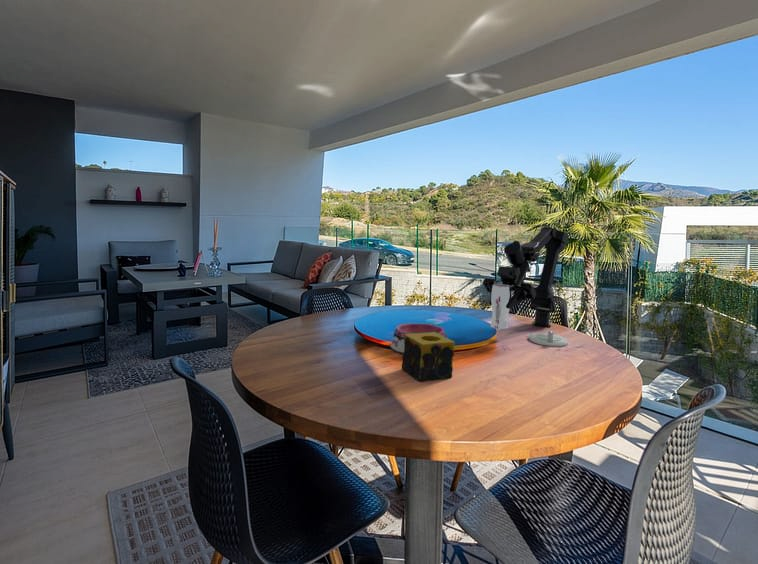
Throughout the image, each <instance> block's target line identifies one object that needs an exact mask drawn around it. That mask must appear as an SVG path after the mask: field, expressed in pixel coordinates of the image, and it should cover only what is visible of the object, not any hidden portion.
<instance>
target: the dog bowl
mask: <svg viewBox="0 0 758 564" xmlns="http://www.w3.org/2000/svg"><path fill="white" fill-rule="evenodd" d="M430 332H436V333H438V334H440V335H442V336H444V337H446V338H447V336H446V332H445V329H444V328H443V327H441V326H438V325H434V324H431V323H419V322H418V323H417V322H416V323H415V322H414V323H413V322H411V323H410V322H409V323H404V324H400V325H397V326H396V327H395V331H394V333H393V337H392V340H391V343H390V346H389V347H390V350H391V351H392V352H394V353H396V354H399V355H402V356H403V353H404V334H414V333H430Z"/></svg>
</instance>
